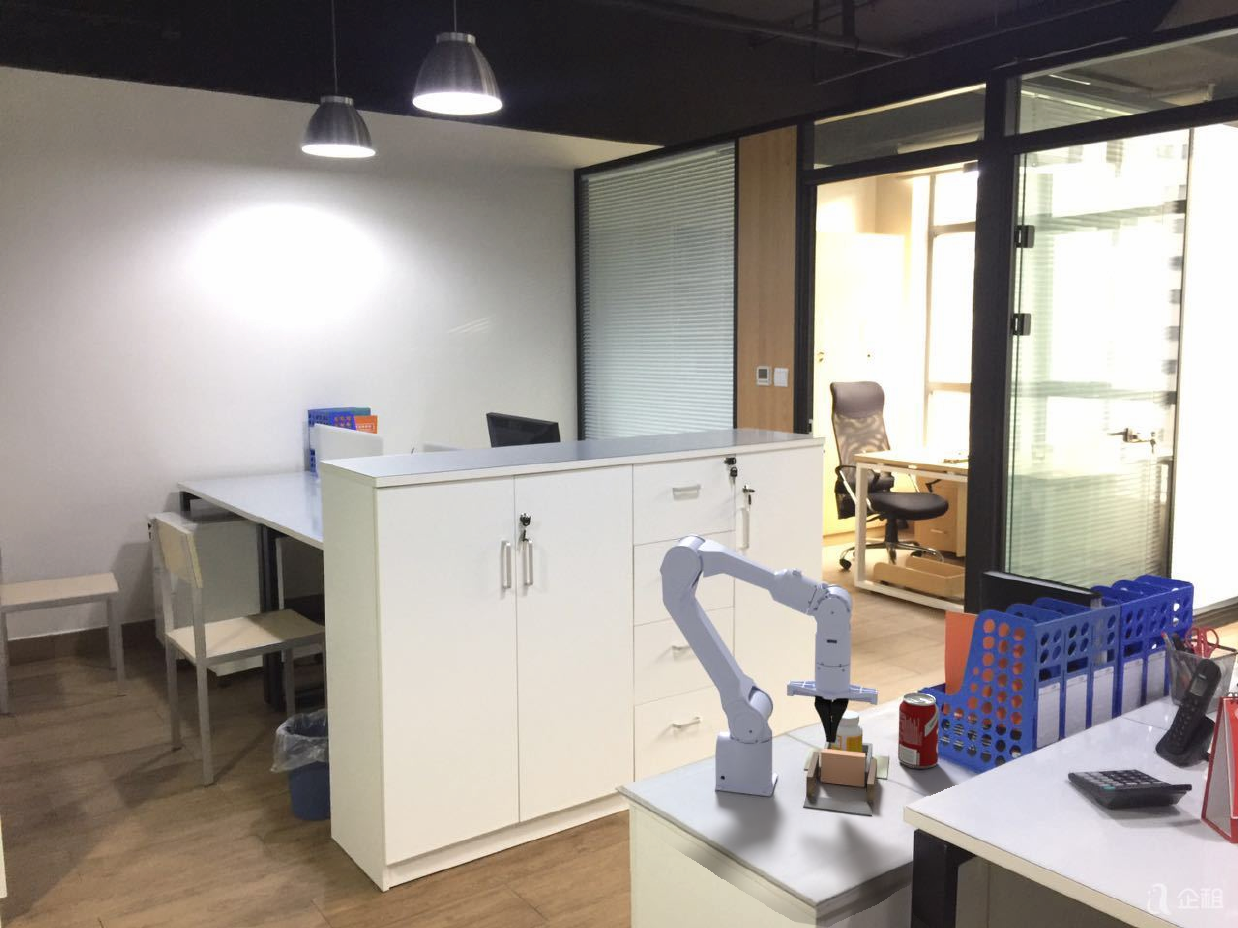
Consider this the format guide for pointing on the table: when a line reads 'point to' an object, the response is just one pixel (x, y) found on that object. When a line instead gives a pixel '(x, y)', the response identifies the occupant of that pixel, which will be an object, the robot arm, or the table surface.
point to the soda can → (918, 731)
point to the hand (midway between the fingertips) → (831, 740)
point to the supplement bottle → (849, 733)
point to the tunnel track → (812, 765)
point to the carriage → (845, 765)
